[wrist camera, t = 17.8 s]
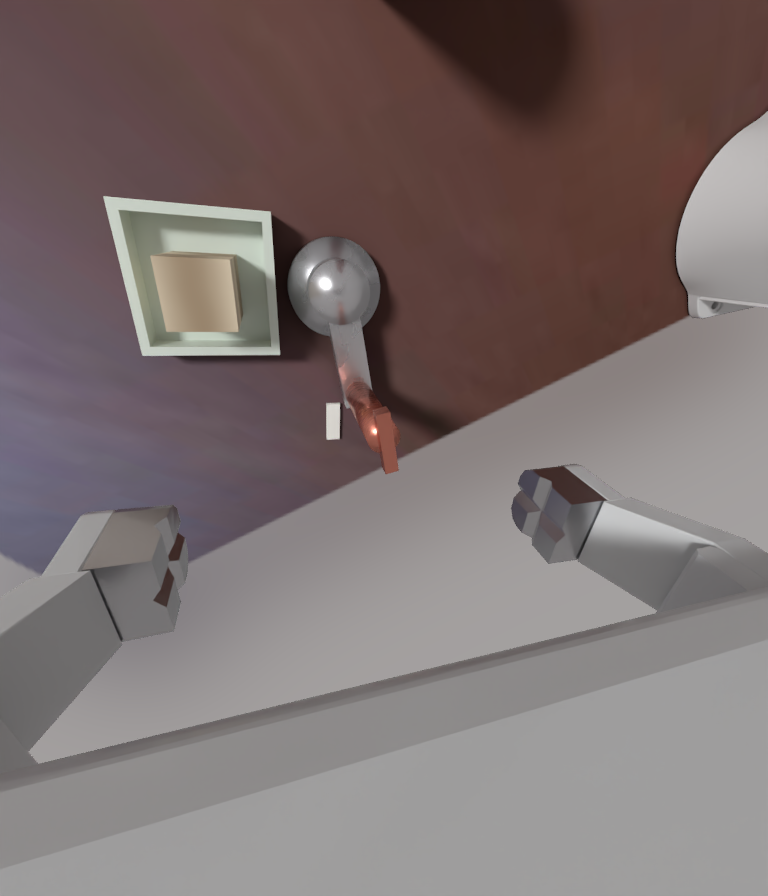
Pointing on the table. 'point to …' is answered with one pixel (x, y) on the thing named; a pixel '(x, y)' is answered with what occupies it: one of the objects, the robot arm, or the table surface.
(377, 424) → the crank
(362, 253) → the crank plinth
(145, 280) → the tray
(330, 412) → the strip
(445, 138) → the table surface
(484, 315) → the table surface
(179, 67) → the table surface
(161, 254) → the block
